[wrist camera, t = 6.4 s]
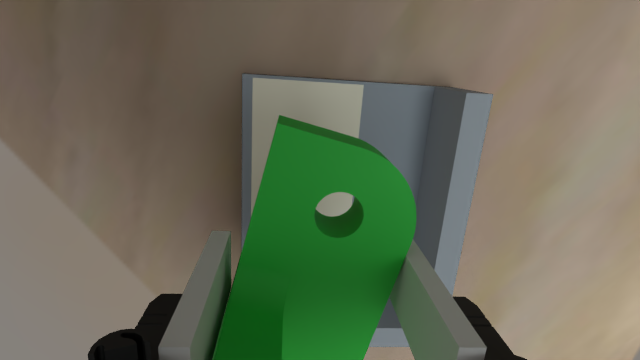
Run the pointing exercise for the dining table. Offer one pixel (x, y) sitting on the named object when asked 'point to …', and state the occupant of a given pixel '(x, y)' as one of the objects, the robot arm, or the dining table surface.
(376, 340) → the corner arena
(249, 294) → the mechanical part
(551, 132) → the dining table surface
